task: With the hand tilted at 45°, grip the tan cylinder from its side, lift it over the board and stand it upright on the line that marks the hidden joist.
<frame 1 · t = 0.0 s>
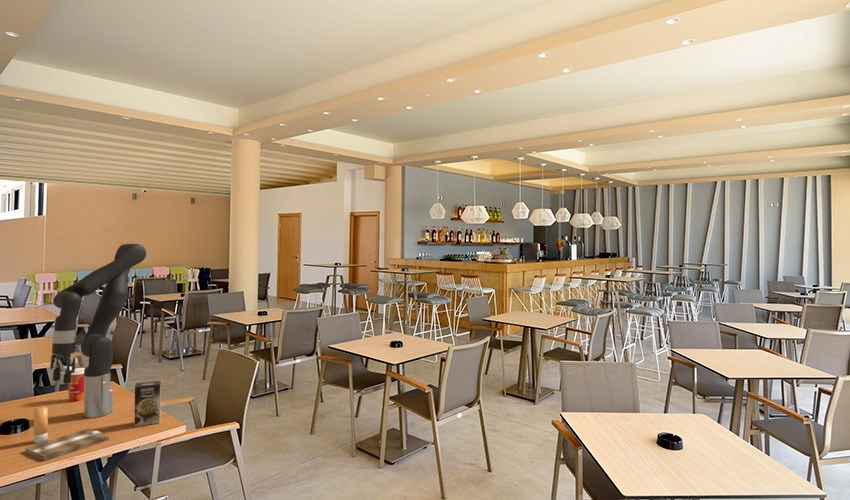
hand: (61, 381, 190), 17 cm above the table, tool pointing down, fingers open, 8 cm apart
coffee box: (147, 423, 193), on the table
paper cup: (76, 400, 220), on the table
tan cylinder: (41, 441, 174), on the table
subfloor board: (68, 445, 170), on the table
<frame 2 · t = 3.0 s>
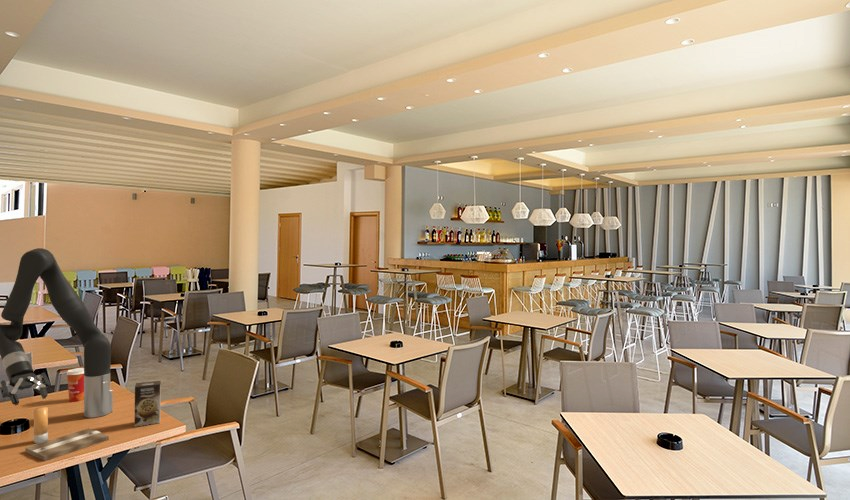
hand: (31, 400, 177), 14 cm above the table, tool tilted 45°, fingers open, 8 cm apart
nothing on the table moved.
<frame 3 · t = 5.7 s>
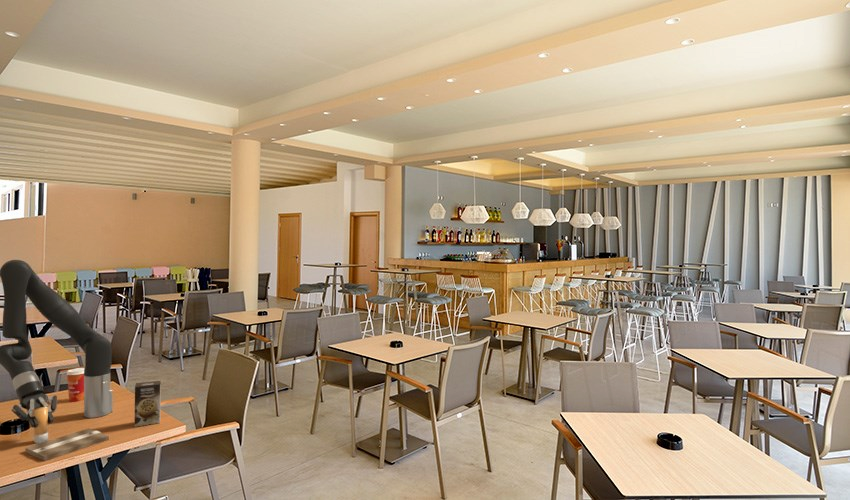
hand: (43, 424, 173), 7 cm above the table, tool tilted 45°, fingers closed on tan cylinder, 4 cm apart
tan cylinder: (41, 441, 174), on the table, touching gripper
everything else where it was.
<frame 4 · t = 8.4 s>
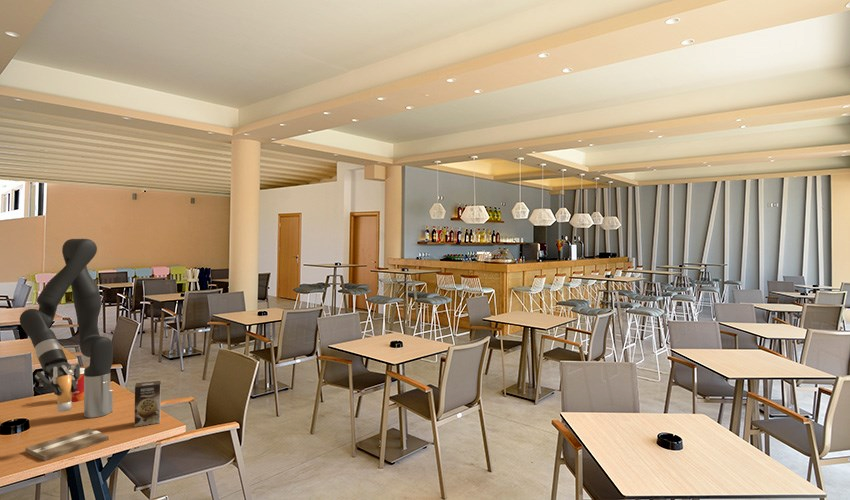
hand: (67, 392, 168), 20 cm above the table, tool tilted 45°, fingers closed on tan cylinder, 4 cm apart
tan cylinder: (64, 409, 169), point 13 cm above the table, touching gripper
everything else where it was.
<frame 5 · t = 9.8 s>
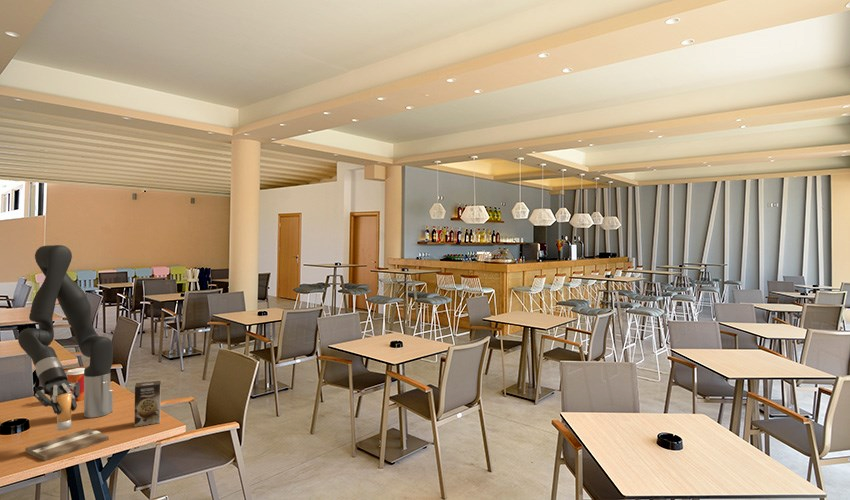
hand: (67, 411, 168), 13 cm above the table, tool tilted 45°, fingers closed on tan cylinder, 4 cm apart
tan cylinder: (64, 428, 169), point 7 cm above the table, touching gripper
everything else where it was.
when the fingers open (10 cm above the table, at t = 11.0 s): tan cylinder drops 2 cm, resting on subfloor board.
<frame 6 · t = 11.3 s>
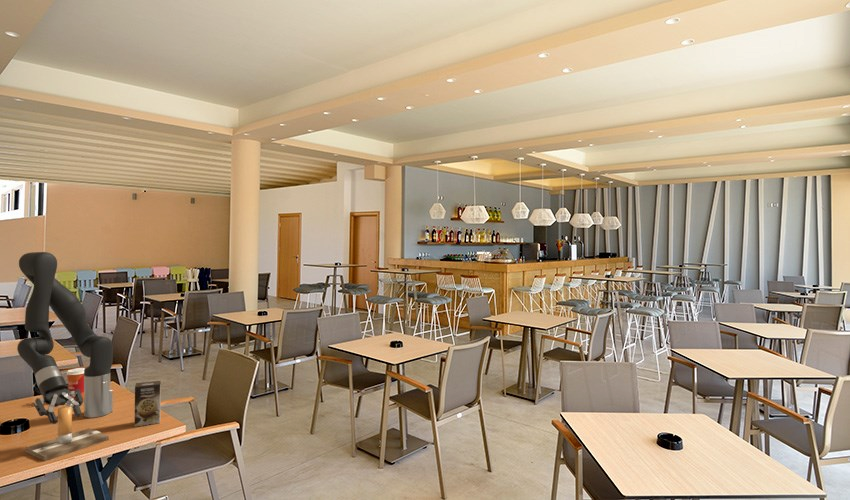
hand: (67, 419, 169), 10 cm above the table, tool tilted 45°, fingers open, 6 cm apart
tan cylinder: (65, 441, 170), point 2 cm above the table, touching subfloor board
everything else where it was.
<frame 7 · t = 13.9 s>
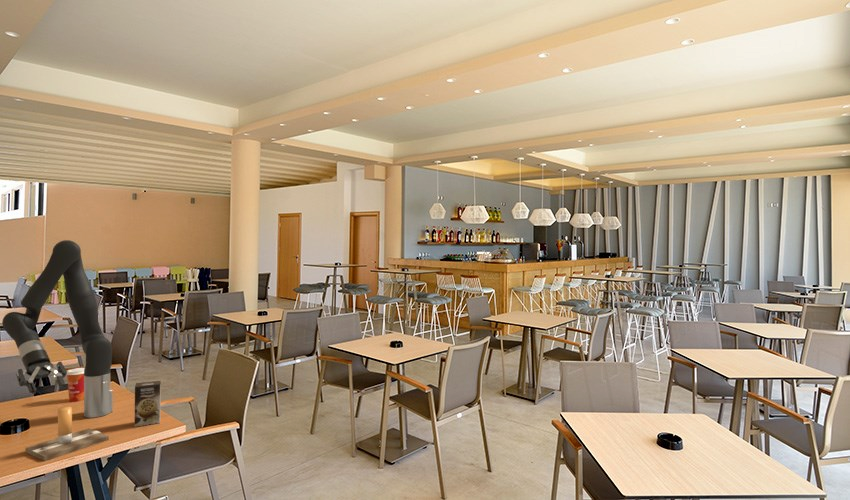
hand: (48, 389, 175), 19 cm above the table, tool tilted 45°, fingers open, 8 cm apart
nothing on the table moved.
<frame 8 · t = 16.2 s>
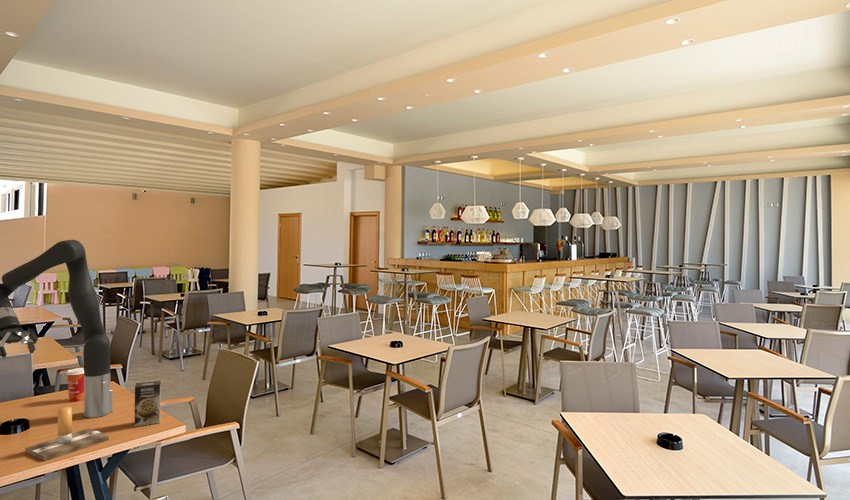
hand: (19, 354, 180), 31 cm above the table, tool tilted 45°, fingers open, 8 cm apart
nothing on the table moved.
at the end: tan cylinder inside the target area on the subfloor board (0.1 cm from its centre), point 1.7 cm above the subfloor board's base; tan cylinder tilted 0°; the gripper is holding nothing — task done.
